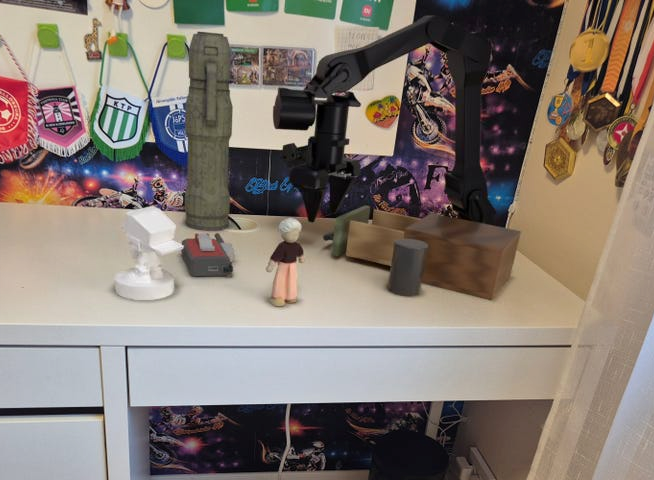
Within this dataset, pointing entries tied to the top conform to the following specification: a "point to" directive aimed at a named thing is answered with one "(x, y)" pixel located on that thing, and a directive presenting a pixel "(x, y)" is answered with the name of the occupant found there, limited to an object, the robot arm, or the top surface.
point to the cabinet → (465, 254)
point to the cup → (407, 267)
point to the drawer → (368, 234)
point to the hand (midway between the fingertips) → (322, 217)
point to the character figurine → (147, 255)
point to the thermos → (208, 132)
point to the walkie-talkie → (208, 255)
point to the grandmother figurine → (286, 263)
